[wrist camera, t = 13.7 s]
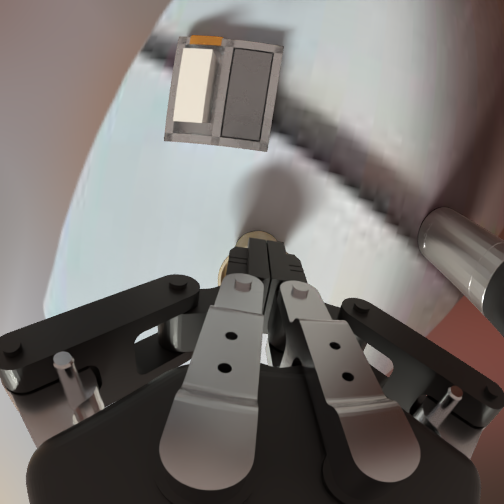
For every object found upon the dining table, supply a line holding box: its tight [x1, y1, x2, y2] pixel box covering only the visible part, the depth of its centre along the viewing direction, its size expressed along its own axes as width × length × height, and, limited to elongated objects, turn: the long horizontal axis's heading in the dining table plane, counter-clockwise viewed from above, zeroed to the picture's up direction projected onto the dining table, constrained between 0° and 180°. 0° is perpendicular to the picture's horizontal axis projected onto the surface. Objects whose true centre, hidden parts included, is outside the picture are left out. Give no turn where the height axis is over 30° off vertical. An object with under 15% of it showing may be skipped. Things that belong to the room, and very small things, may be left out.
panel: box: [173, 48, 218, 123], centre depth 29 cm, size 3×8×7 cm, turn 172°
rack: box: [164, 35, 284, 152], centre depth 31 cm, size 12×13×4 cm
